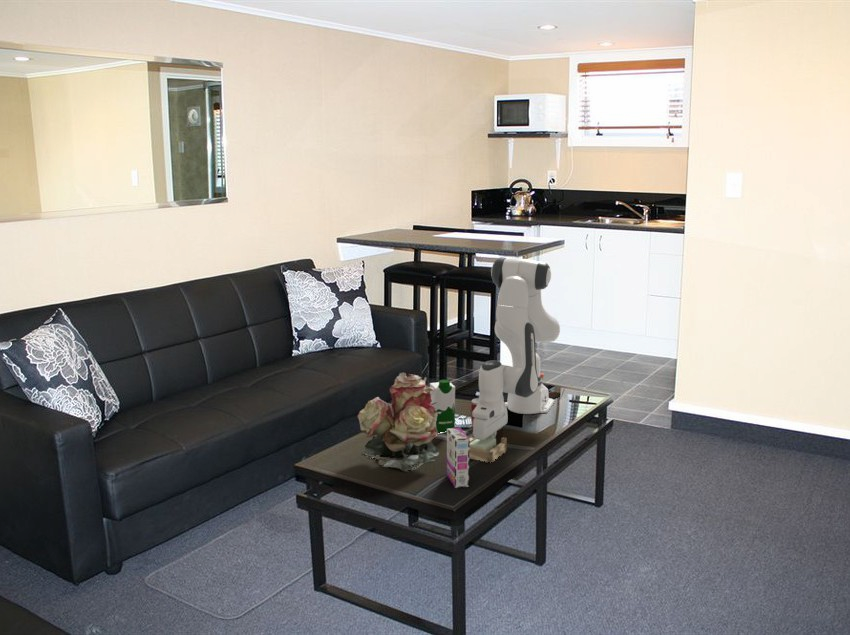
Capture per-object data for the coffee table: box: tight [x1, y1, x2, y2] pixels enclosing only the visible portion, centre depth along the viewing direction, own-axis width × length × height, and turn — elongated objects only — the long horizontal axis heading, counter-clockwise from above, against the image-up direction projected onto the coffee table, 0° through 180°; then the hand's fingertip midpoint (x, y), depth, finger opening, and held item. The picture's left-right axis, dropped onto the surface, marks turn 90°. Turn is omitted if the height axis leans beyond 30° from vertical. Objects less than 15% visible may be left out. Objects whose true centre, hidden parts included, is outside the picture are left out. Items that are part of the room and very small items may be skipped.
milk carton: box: [429, 379, 456, 433], centre depth 307 cm, size 9×9×20 cm
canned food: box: [470, 397, 479, 427], centre depth 309 cm, size 8×8×11 cm
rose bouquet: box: [356, 372, 440, 473], centre depth 280 cm, size 26×29×30 cm
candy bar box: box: [446, 427, 470, 489], centre depth 261 cm, size 11×5×16 cm, turn 13°
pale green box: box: [469, 435, 497, 451], centre depth 285 cm, size 9×7×6 cm
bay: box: [469, 432, 508, 464], centre depth 285 cm, size 12×13×5 cm
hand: (491, 443), depth 291 cm, fingers closed
